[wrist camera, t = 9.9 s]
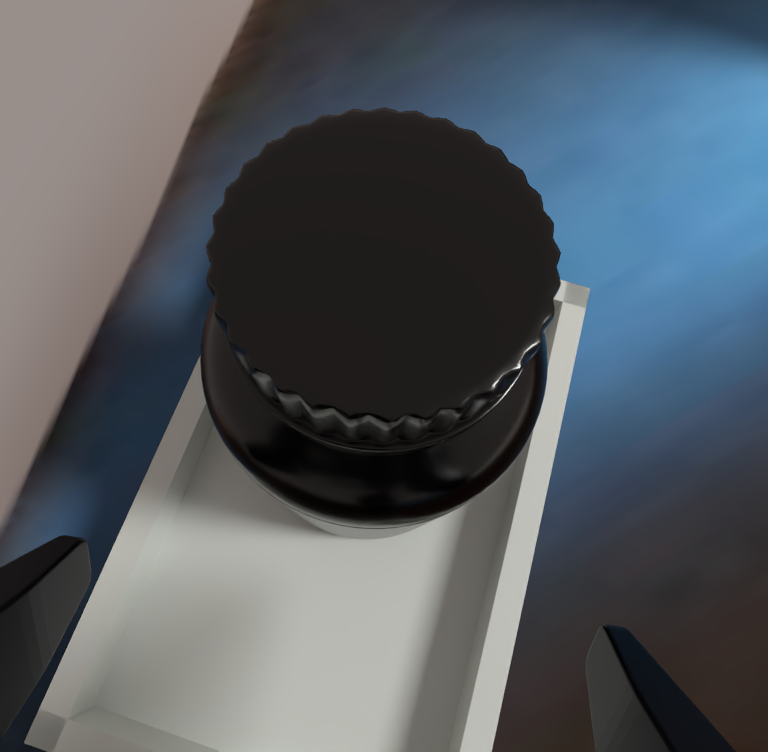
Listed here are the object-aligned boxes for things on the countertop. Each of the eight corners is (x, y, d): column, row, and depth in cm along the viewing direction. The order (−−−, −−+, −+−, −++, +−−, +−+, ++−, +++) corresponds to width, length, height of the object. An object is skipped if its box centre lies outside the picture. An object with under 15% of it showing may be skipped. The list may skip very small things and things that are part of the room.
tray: (447, 864, 15) (459, 903, 14) (61, 723, 16) (23, 743, 14) (570, 312, 21) (590, 288, 19) (280, 226, 22) (272, 196, 20)
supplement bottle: (239, 513, 18) (17, 423, 6) (299, 323, 20) (214, 3, 9) (449, 567, 17) (610, 572, 6) (487, 368, 20) (657, 98, 8)
